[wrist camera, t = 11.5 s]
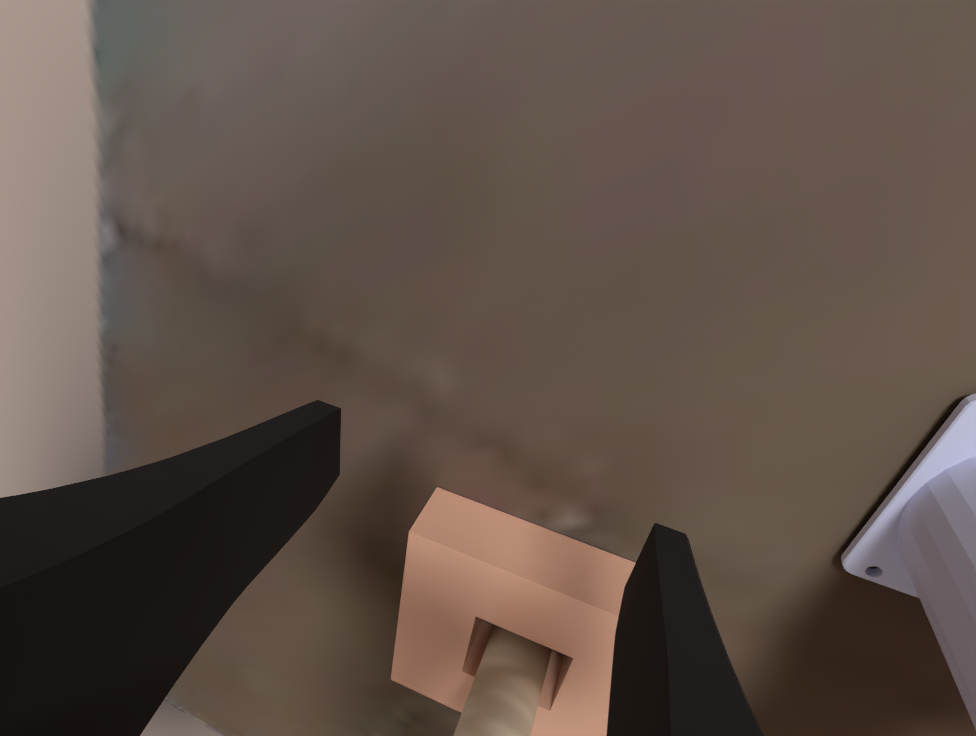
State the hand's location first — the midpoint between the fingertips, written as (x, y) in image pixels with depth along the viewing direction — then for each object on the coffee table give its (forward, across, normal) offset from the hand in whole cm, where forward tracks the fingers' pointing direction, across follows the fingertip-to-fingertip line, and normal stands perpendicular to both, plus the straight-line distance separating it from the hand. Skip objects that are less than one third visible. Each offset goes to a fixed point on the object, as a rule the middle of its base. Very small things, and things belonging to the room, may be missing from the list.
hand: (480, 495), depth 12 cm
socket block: (+9, -2, +16) cm, 19 cm away
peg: (+9, -2, +16) cm, 19 cm away
